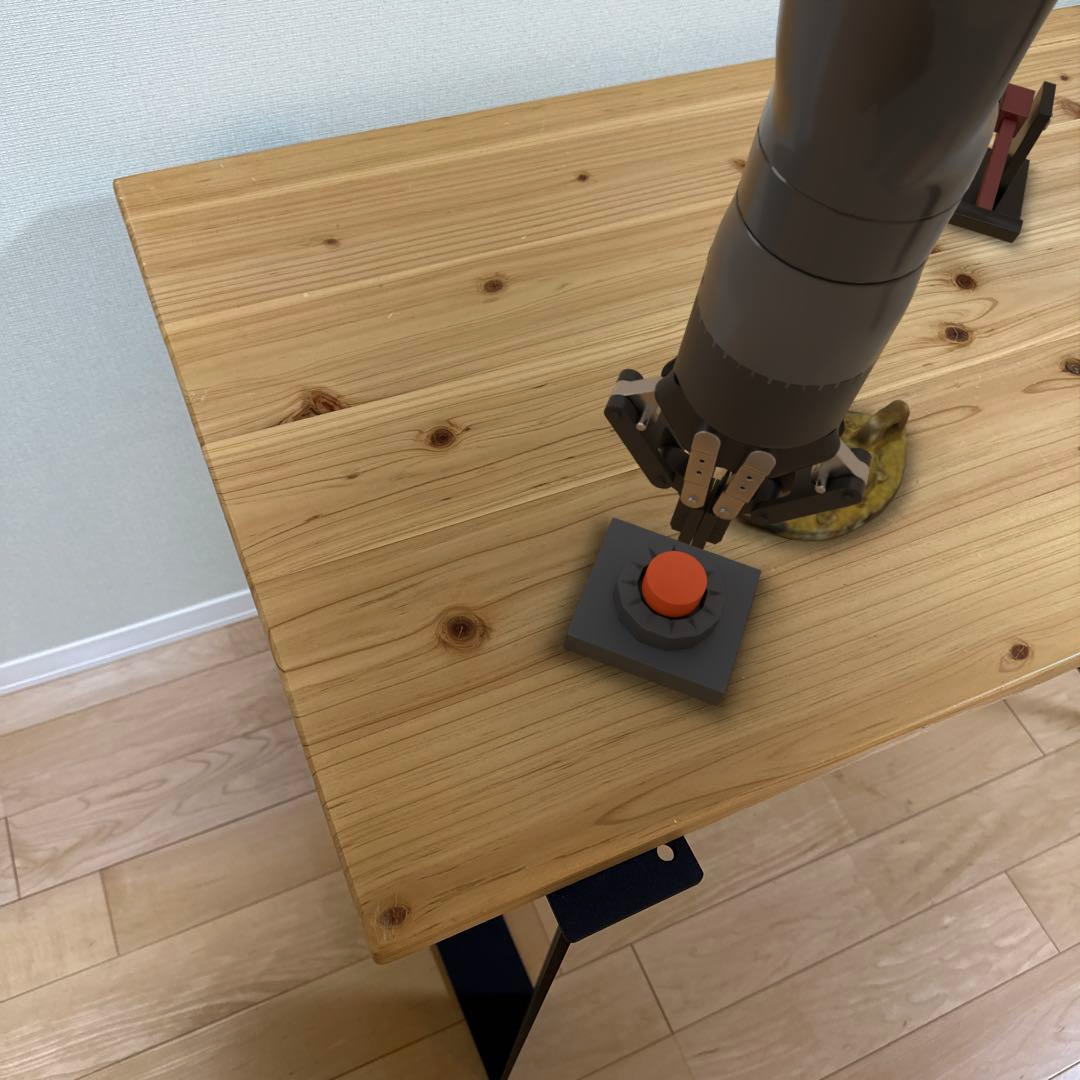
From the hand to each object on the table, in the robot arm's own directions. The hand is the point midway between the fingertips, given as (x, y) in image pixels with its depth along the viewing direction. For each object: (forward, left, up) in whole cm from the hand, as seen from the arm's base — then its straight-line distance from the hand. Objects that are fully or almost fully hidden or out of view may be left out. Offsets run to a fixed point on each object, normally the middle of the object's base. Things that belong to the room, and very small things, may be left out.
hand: (694, 532), depth 53 cm
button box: (0, 0, -11) cm, 11 cm away
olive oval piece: (-7, -15, -11) cm, 20 cm away
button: (0, 0, -7) cm, 7 cm away
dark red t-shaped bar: (-13, -45, -5) cm, 48 cm away
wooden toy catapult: (-13, -50, -11) cm, 53 cm away
